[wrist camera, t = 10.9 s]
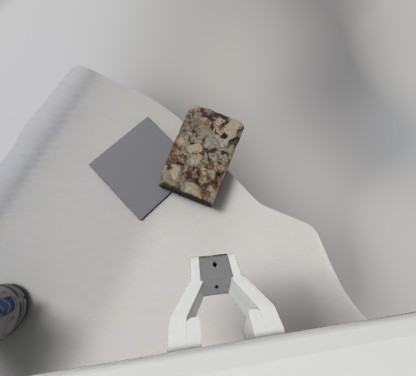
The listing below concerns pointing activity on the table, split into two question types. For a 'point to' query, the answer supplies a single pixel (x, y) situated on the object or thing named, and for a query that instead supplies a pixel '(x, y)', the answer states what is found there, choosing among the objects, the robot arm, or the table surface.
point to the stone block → (201, 155)
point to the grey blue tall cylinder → (11, 308)
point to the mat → (136, 167)
